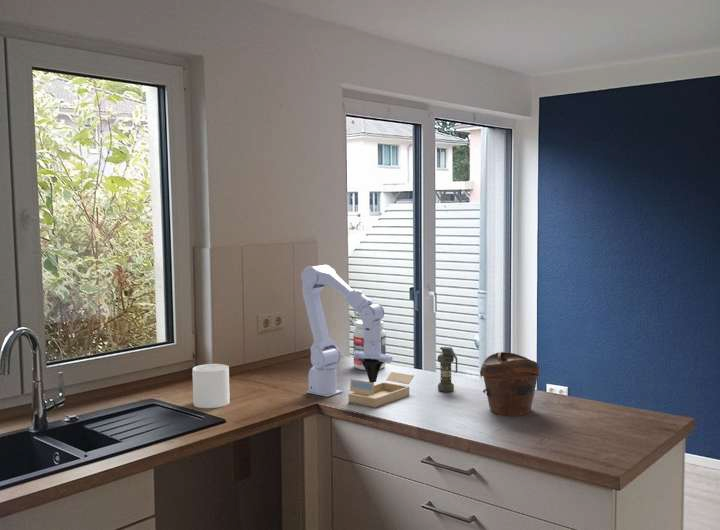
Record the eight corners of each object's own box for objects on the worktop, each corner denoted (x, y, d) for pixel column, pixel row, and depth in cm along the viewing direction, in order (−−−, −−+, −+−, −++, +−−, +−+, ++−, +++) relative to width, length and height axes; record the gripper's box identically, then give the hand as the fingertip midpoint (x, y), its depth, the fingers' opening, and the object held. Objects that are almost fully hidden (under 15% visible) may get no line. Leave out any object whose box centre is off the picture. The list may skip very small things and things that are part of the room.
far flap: (391, 371, 253) (391, 372, 253) (385, 379, 251) (386, 380, 251) (413, 375, 247) (414, 376, 247) (408, 383, 245) (408, 384, 245)
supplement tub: (351, 370, 282) (350, 324, 281) (356, 363, 295) (356, 319, 293) (383, 371, 280) (383, 324, 279) (387, 364, 293) (387, 319, 291)
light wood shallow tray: (348, 402, 236) (348, 393, 236) (383, 390, 251) (383, 382, 251) (375, 408, 229) (375, 398, 229) (409, 395, 244) (409, 386, 244)
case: (499, 398, 239) (499, 344, 237) (553, 410, 225) (553, 353, 223) (466, 410, 227) (465, 353, 225) (521, 423, 212) (521, 363, 211)
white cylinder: (237, 403, 238) (236, 367, 237) (207, 410, 229) (206, 373, 228) (215, 396, 246) (214, 362, 245) (186, 404, 237) (185, 368, 236)
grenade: (436, 392, 248) (435, 348, 247) (441, 387, 254) (440, 345, 253) (454, 393, 246) (454, 350, 245) (458, 389, 252) (458, 346, 250)
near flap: (350, 390, 236) (349, 391, 235) (351, 378, 235) (350, 378, 235) (373, 395, 230) (372, 395, 229) (374, 382, 230) (373, 382, 229)
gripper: (347, 340, 237) (347, 381, 238) (382, 345, 228) (383, 387, 229) (360, 337, 243) (361, 377, 244) (395, 341, 234) (396, 383, 235)
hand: (372, 381), depth 237 cm, fingers closed
